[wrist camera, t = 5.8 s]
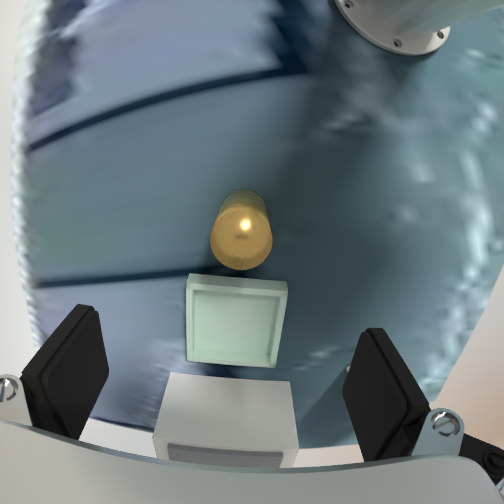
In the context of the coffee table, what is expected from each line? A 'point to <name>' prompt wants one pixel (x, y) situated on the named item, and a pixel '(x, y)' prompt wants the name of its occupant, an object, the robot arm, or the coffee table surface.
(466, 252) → the coffee table surface
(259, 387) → the white box grey panel
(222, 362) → the tray
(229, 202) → the roller
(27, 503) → the robot arm
